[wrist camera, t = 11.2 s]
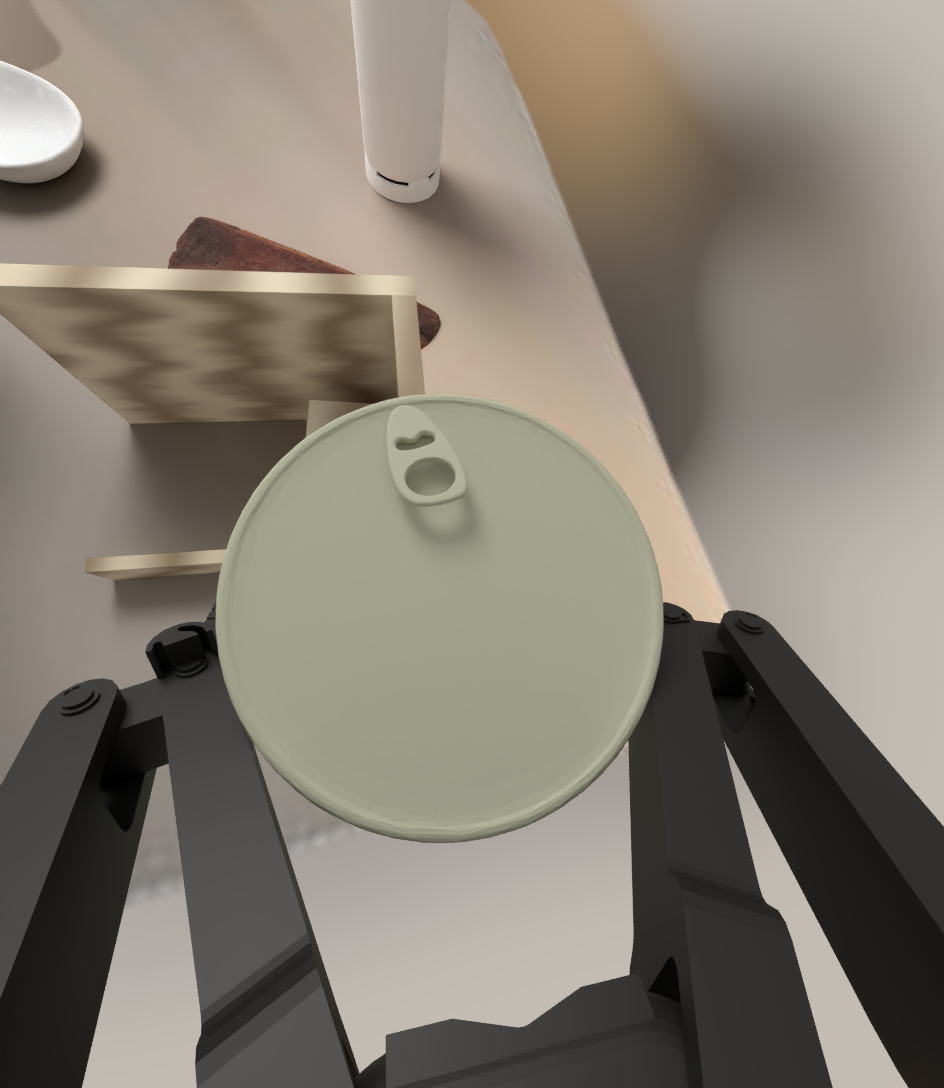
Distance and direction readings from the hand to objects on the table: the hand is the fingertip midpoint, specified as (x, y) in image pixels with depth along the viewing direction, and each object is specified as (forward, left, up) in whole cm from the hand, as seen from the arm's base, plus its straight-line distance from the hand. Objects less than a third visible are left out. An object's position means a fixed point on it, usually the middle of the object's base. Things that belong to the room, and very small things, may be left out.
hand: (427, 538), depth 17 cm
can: (0, -3, -4) cm, 5 cm away
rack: (-11, +11, -20) cm, 25 cm away
